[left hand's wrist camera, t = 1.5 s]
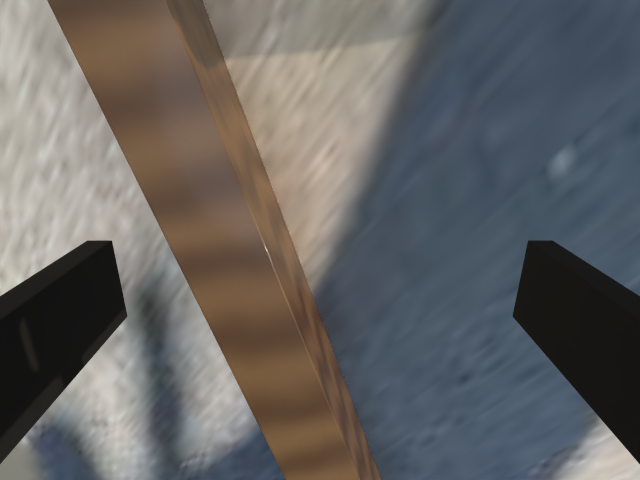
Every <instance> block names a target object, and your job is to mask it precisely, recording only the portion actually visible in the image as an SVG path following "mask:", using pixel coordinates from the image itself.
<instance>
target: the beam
mask: <svg viewBox="0 0 640 480" xmlns="http://www.w3.org/2000/svg"><path fill="white" fill-rule="evenodd" d="M48 2H49V4H50V6H51V8H52V10H53V12H54V15H55V17H56V19H57V21H58V23H59V25H60V27H61V29H62V31H63V33H64V35H65V37H66V39H67V41H68V43H69V45H70V47H71V49H72V51H73V53H74V55H75V57H76V59H77V61H78V63H79V65H80V67H81V69H82V71H83V73H84V75H85V77H86V79H87V81H88V83H89V85H90V87H91V89H92V91H93V93H94V95H95V97H96V99H97V101H98V103H99V105H100V107H101V109H102V111H103V113H104V115H105V117H106V119H107V121H108V123H109V125H110V127H111V129H112V131H113V133H114V135H115V137H116V139H117V141H118V143H119V145H120V147H121V149H122V151H123V153H124V155H125V157H126V159H127V161H128V163H129V165H130V167H131V169H132V171H133V173H134V175H135V177H136V179H137V181H138V183H139V185H140V187H141V189H142V191H143V193H144V195H145V197H146V199H147V202H148V204H149V206H150V208H151V210H152V212H153V214H154V216H155V218H156V220H157V222H158V224H159V226H160V228H161V230H162V232H163V234H164V236H165V238H166V240H167V242H168V244H169V246H170V248H171V250H172V252H173V254H174V256H175V258H176V260H177V262H178V264H179V266H180V268H181V270H182V272H183V274H184V276H185V278H186V280H187V282H188V284H189V286H190V288H191V290H192V292H193V294H194V296H195V298H196V300H197V302H198V304H199V306H200V308H201V310H202V312H203V314H204V316H205V318H206V320H207V322H208V324H209V326H210V328H211V330H212V332H213V334H214V336H215V338H216V340H217V342H218V344H219V346H220V348H221V350H222V352H223V354H224V356H225V358H226V360H227V362H228V364H229V366H230V368H231V370H232V372H233V374H234V376H235V378H236V380H237V382H238V384H239V386H240V389H241V391H242V393H243V395H244V397H245V399H246V401H247V403H248V405H249V407H250V409H251V411H252V413H253V415H254V417H255V419H256V421H257V423H258V425H259V427H260V429H261V431H262V433H263V435H264V437H265V439H266V441H267V443H268V445H269V447H270V449H271V451H272V453H273V455H274V457H275V459H276V461H277V463H278V465H279V467H280V469H281V471H282V473H283V475H284V477H285V479H286V480H381V478H380V475H379V472H378V470H377V467H376V464H375V462H374V459H373V456H372V454H371V451H370V448H369V446H368V443H367V440H366V438H365V435H364V432H363V430H362V427H361V424H360V422H359V419H358V416H357V414H356V411H355V408H354V406H353V403H352V400H351V398H350V395H349V392H348V390H347V387H346V384H345V382H344V379H343V376H342V374H341V371H340V368H339V366H338V363H337V360H336V358H335V355H334V352H333V350H332V347H331V344H330V342H329V339H328V336H327V334H326V331H325V328H324V325H323V323H322V320H321V317H320V315H319V312H318V309H317V307H316V304H315V301H314V299H313V296H312V293H311V291H310V288H309V285H308V283H307V280H306V277H305V275H304V272H303V269H302V267H301V264H300V261H299V259H298V256H297V253H296V251H295V248H294V245H293V243H292V240H291V237H290V235H289V232H288V229H287V227H286V224H285V221H284V219H283V216H282V213H281V211H280V208H279V205H278V203H277V200H276V197H275V195H274V192H273V189H272V187H271V184H270V181H269V178H268V176H267V173H266V170H265V168H264V165H263V162H262V160H261V157H260V154H259V152H258V149H257V146H256V144H255V141H254V138H253V136H252V133H251V130H250V128H249V125H248V122H247V120H246V117H245V114H244V112H243V109H242V106H241V104H240V101H239V98H238V96H237V93H236V90H235V88H234V85H233V82H232V80H231V77H230V74H229V72H228V69H227V66H226V64H225V61H224V58H223V56H222V53H221V50H220V48H219V45H218V42H217V40H216V37H215V34H214V31H213V29H212V26H211V23H210V21H209V18H208V15H207V13H206V10H205V7H204V5H203V2H202V0H48Z"/></svg>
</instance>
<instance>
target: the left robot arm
mask: <svg viewBox="0 0 640 480" xmlns="http://www.w3.org/2000/svg"><path fill="white" fill-rule="evenodd" d="M126 317H127V312H126V307H125V302H124V298H123V293H122V288H121V283H120V278H119V273H118V268H117V264H116V259H115V254H114V249H113V244H112V241H86V242H85V243H83V244H82V245H80V246H78V247H77V248H75V249H74V250H72V251H71V252H69V253H67V254H66V255H64V256H63V257H61V258H60V259H58V260H56V261H55V262H53V263H52V264H50V265H49V266H47V267H45V268H44V269H42V270H41V271H39V272H38V273H36V274H35V275H33V276H31V277H30V278H28V279H27V280H25V281H24V282H22V283H20V284H19V285H17V286H16V287H14V288H13V289H11V290H9V291H8V292H6V293H5V294H3V295H2V296H0V464H1V463H2V461H3V460H4V459H5V458H6V457H7V456H8V454H9V453H10V452H11V451H12V450H13V449H14V447H15V446H16V445H17V444H18V443H19V442H20V440H21V439H22V438H23V437H24V436H25V435H26V433H27V432H28V431H29V430H30V429H31V428H32V427H33V425H34V424H35V423H36V422H37V421H38V420H39V418H40V417H41V416H42V415H43V414H44V413H45V411H46V410H47V409H48V408H49V407H50V406H51V404H52V403H53V402H54V401H55V400H56V399H57V397H58V396H59V395H60V394H61V393H62V392H63V390H64V389H65V388H66V387H67V386H68V385H69V383H70V382H71V381H72V380H73V379H74V378H75V377H76V375H77V374H78V373H79V372H80V371H81V370H82V368H83V367H84V366H85V365H86V364H87V363H88V361H89V360H90V359H91V358H92V357H93V356H94V354H95V353H96V352H97V351H98V350H99V349H100V347H101V346H102V345H103V344H104V343H105V342H106V340H107V339H108V338H109V337H110V336H111V335H112V333H113V332H114V331H115V330H116V329H117V328H118V327H119V325H120V324H121V323H122V322H123V321H124V320H125V318H126ZM513 317H514V318H515V320H516V321H517V322H518V323H519V324H520V325H521V327H522V328H523V329H524V330H525V331H526V332H527V333H528V335H529V336H530V337H531V338H532V339H533V340H534V342H535V343H536V344H537V345H538V346H539V347H540V349H541V350H542V351H543V352H544V353H545V354H546V356H547V357H548V358H549V359H550V360H551V361H552V363H553V364H554V365H555V366H556V367H557V368H558V370H559V371H560V372H561V373H562V374H563V375H564V377H565V378H566V379H567V380H568V381H569V382H570V383H571V385H572V386H573V387H574V388H575V389H576V390H577V392H578V393H579V394H580V395H581V396H582V397H583V399H584V400H585V401H586V402H587V403H588V404H589V406H590V407H591V408H592V409H593V410H594V411H595V413H596V414H597V415H598V416H599V417H600V418H601V420H602V421H603V422H604V423H605V424H606V425H607V427H608V428H609V429H610V430H611V431H612V432H613V433H614V435H615V436H616V437H617V438H618V439H619V440H620V442H621V443H622V444H623V445H624V446H625V447H626V449H627V450H628V451H629V452H630V453H631V454H632V456H633V457H634V458H635V459H636V460H637V461H638V463H639V464H640V296H638V295H637V294H635V293H634V292H632V291H631V290H629V289H627V288H626V287H624V286H623V285H621V284H620V283H618V282H616V281H615V280H613V279H612V278H610V277H609V276H607V275H605V274H604V273H602V272H601V271H599V270H598V269H596V268H595V267H593V266H591V265H590V264H588V263H587V262H585V261H584V260H582V259H580V258H579V257H577V256H576V255H574V254H573V253H571V252H569V251H568V250H566V249H565V248H563V247H562V246H560V245H558V244H557V243H555V242H554V241H528V244H527V249H526V254H525V259H524V264H523V268H522V273H521V278H520V283H519V288H518V293H517V298H516V302H515V307H514V312H513Z"/></svg>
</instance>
